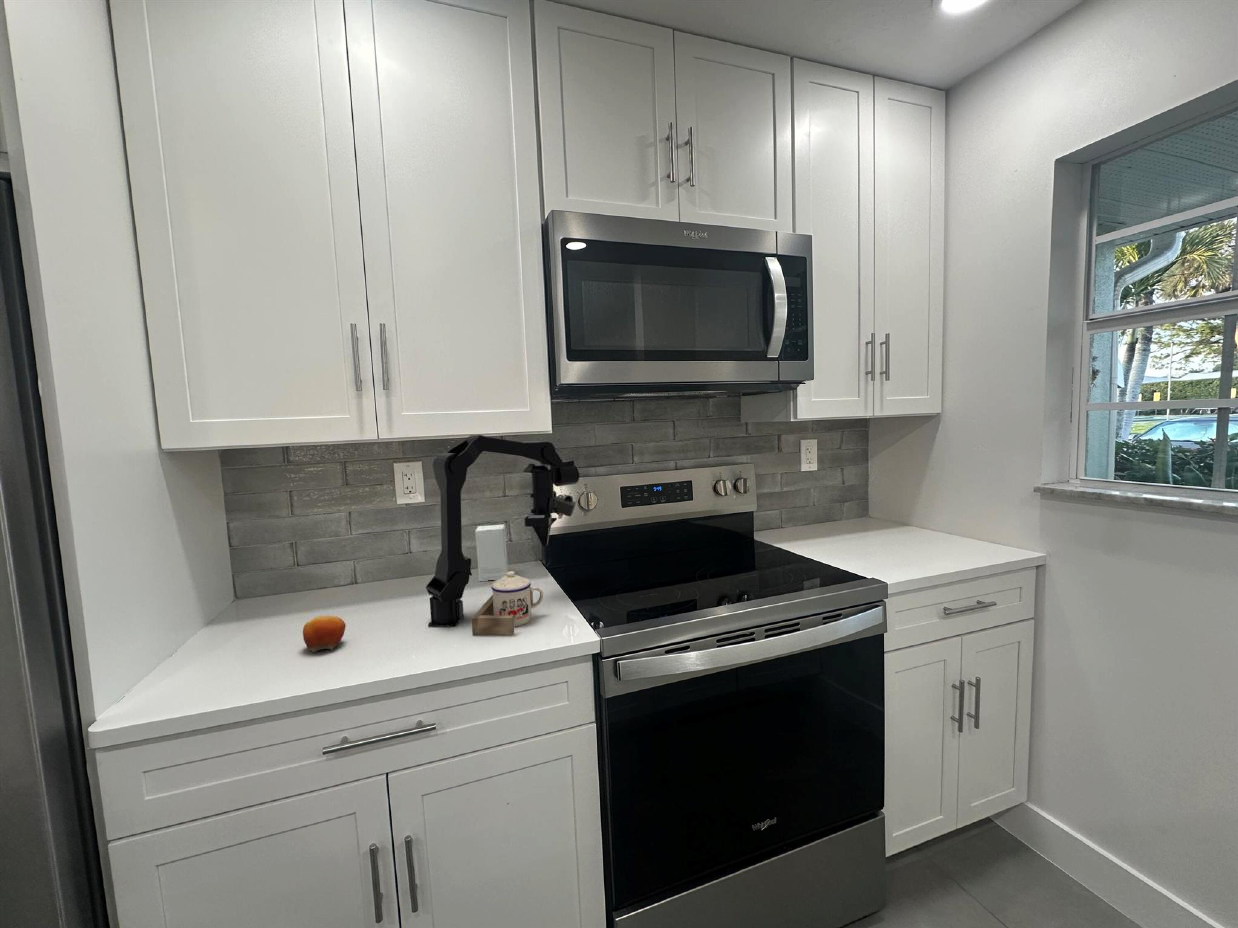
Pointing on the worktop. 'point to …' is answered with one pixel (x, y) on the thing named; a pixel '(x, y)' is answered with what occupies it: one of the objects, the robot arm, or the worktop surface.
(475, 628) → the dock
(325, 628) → the fruit
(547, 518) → the robot arm
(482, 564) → the skincare box
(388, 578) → the worktop surface
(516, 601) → the teacup with lid
